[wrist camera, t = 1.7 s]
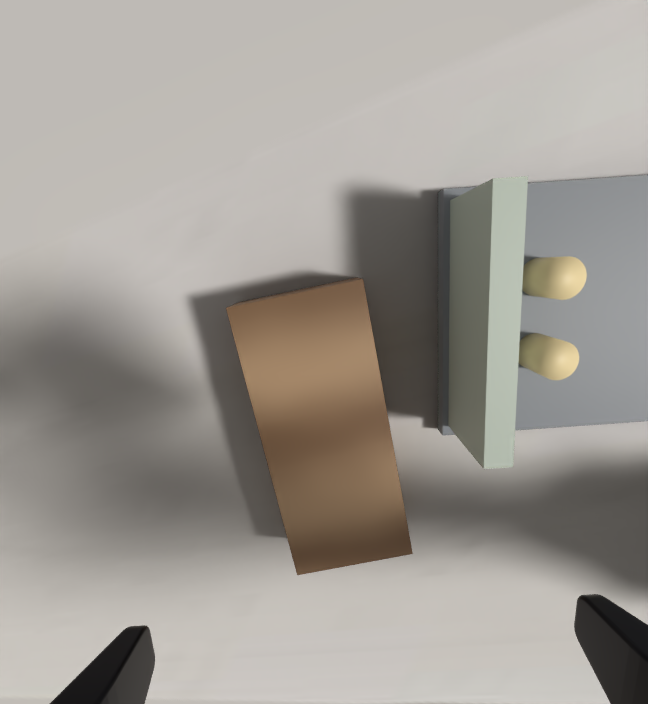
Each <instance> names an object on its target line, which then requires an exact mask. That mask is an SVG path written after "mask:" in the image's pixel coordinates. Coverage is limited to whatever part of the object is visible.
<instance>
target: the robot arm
mask: <svg viewBox="0 0 648 704" xmlns="http://www.w3.org/2000/svg"><path fill="white" fill-rule="evenodd" d="M574 628H575V633H576V636H577V639H578V641H579V643H580V645H581V647H582V649H583V651H584V653H585V655H586V657H587V659H588V661H589V662H590V664H591V666H592V668H593V670H594V672H595V674H596V676H597V678H598V680H599V682H600V684H601V686H602V688H603V690H604V691H605V693H606V695H607V697H608V699H609V701H610V703H611V704H648V625H647V624H645V623H644V622H642V621H641V620H639V619H638V618H636V617H635V616H633V615H631V614H630V613H628V612H627V611H625V610H624V609H622V608H621V607H619V606H618V605H616V604H614V603H613V602H611V601H610V600H608V599H607V598H605V597H603V596H601V595H598V594H592V595H581V596H580V597H579V598H578V600H577V607H576V615H575V623H574ZM154 665H155V653H154V649H153V644H152V639H151V634H150V630H149V628H148V627H147V626H145V625H144V626H131V627H128V628H126V629H125V630H123V631H122V632H121V633H120V634H119V635H118V636H117V637H116V638H115V639H114V640H113V641H112V642H111V643H110V644H109V645H108V646H107V647H106V648H105V649H104V650H103V651H102V652H101V653H100V654H99V655H98V656H97V657H96V658H95V659H94V660H93V661H92V662H91V663H90V664H89V665H88V666H87V667H86V668H85V669H84V670H83V671H82V672H81V673H80V674H79V675H78V676H77V677H76V678H75V679H74V680H73V681H72V682H71V683H70V684H69V685H68V686H67V687H66V688H65V689H64V690H63V691H62V692H61V693H60V694H59V695H58V696H57V697H56V698H55V699H54V700H53V701H52V702H51V703H50V704H144V703H145V700H146V696H147V693H148V689H149V685H150V681H151V678H152V674H153V670H154Z"/></svg>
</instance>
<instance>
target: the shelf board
mask: <svg viewBox="0 0 648 704" xmlns="http://www.w3.org/2000/svg"><path fill="white" fill-rule="evenodd" d="M226 310H227V314H228V318H229V321H230V325H231V329H232V333H233V336H234V340H235V344H236V348H237V351H238V355H239V359H240V363H241V366H242V370H243V374H244V377H245V381H246V385H247V389H248V392H249V396H250V400H251V404H252V407H253V411H254V415H255V419H256V422H257V426H258V430H259V434H260V437H261V441H262V445H263V449H264V452H265V456H266V460H267V464H268V467H269V471H270V475H271V479H272V482H273V486H274V490H275V493H276V497H277V501H278V505H279V508H280V512H281V516H282V520H283V523H284V527H285V531H286V535H287V538H288V542H289V546H290V550H291V553H292V557H293V561H294V565H295V568H296V572H297V575H301V574H306V573H312V572H317V571H322V570H328V569H333V568H339V567H344V566H349V565H355V564H360V563H366V562H371V561H376V560H382V559H387V558H392V557H398V556H403V555H409V554H413V553H412V548H411V542H410V536H409V531H408V525H407V520H406V514H405V509H404V503H403V498H402V492H401V487H400V481H399V476H398V470H397V465H396V459H395V453H394V448H393V442H392V437H391V431H390V426H389V420H388V415H387V409H386V404H385V398H384V393H383V387H382V382H381V376H380V371H379V365H378V359H377V354H376V348H375V343H374V337H373V332H372V326H371V321H370V315H369V310H368V304H367V299H366V293H365V288H364V282H363V279H361V278H357V277H356V278H352V279H347V280H342V281H337V282H333V283H328V284H323V285H319V286H314V287H309V288H304V289H300V290H295V291H290V292H286V293H281V294H276V295H271V296H267V297H262V298H257V299H252V300H248V301H243V302H238V303H236V304H234V305H232V306H229V307H227V308H226Z"/></svg>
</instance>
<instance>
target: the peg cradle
mask: <svg viewBox="0 0 648 704" xmlns="http://www.w3.org/2000/svg"><path fill="white" fill-rule="evenodd" d="M642 421H648V175H638V176H623V177H609V178H594V179H580V180H565V181H551V182H537V183H528V176H524V177H509V178H495V179H491V180H489V181H487V182H485V183H483V184H481V185H479V186H478V187H464V188H450V189H443V190H441V191H440V192H438V430H439V431H440V433H441V434H442V435H456V436H457V437H458V438H459V440H460V441H461V442H462V443H463V444H464V446H465V447H466V448H467V449H468V451H469V452H470V453H471V454H472V455H473V457H474V458H475V459H476V460H477V461H478V463H479V464H480V465H481V466H482V468H483V469H492V468H507V467H513V460H514V440H515V430H527V429H542V428H556V427H571V426H585V425H599V424H614V423H628V422H642Z"/></svg>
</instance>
